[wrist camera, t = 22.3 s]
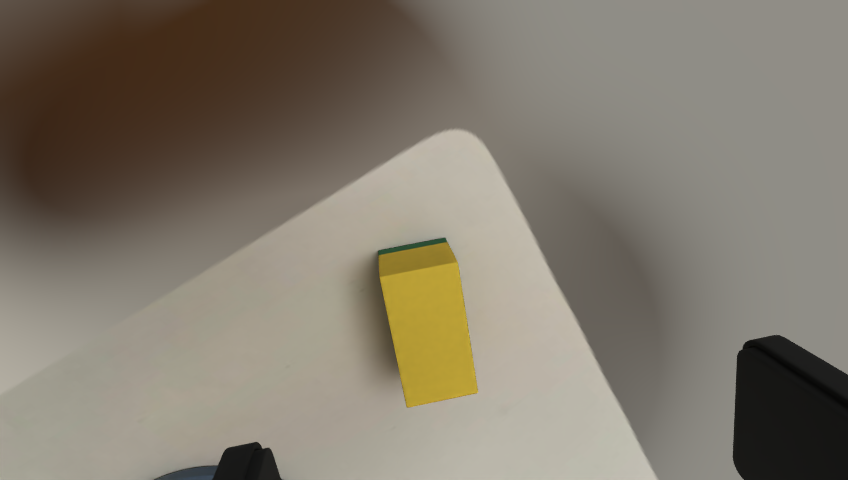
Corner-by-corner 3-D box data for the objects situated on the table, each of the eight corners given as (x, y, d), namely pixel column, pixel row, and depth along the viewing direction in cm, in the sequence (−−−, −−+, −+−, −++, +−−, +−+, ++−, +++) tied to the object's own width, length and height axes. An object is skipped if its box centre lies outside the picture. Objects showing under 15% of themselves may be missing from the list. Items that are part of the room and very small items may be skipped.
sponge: (445, 237, 33) (457, 261, 28) (463, 352, 35) (478, 393, 31) (378, 250, 32) (379, 277, 28) (401, 365, 35) (406, 408, 30)
